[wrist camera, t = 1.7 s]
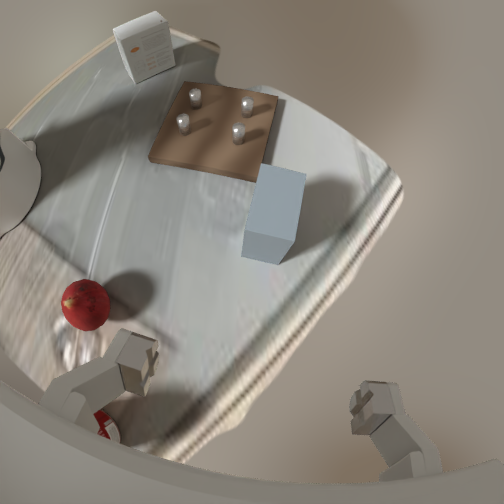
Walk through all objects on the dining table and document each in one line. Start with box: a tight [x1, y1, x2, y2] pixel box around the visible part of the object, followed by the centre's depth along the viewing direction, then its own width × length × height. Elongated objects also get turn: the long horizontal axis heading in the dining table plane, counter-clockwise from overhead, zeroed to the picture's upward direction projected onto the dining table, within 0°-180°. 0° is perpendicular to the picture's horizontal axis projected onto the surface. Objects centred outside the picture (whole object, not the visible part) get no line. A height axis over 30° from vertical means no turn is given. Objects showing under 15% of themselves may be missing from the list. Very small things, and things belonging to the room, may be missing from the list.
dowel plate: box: [148, 81, 278, 183], centre depth 38 cm, size 15×15×4 cm
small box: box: [113, 11, 176, 84], centre depth 38 cm, size 8×6×10 cm
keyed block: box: [241, 163, 306, 265], centre depth 32 cm, size 4×7×10 cm, turn 167°
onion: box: [61, 279, 110, 331], centre depth 29 cm, size 6×6×8 cm
